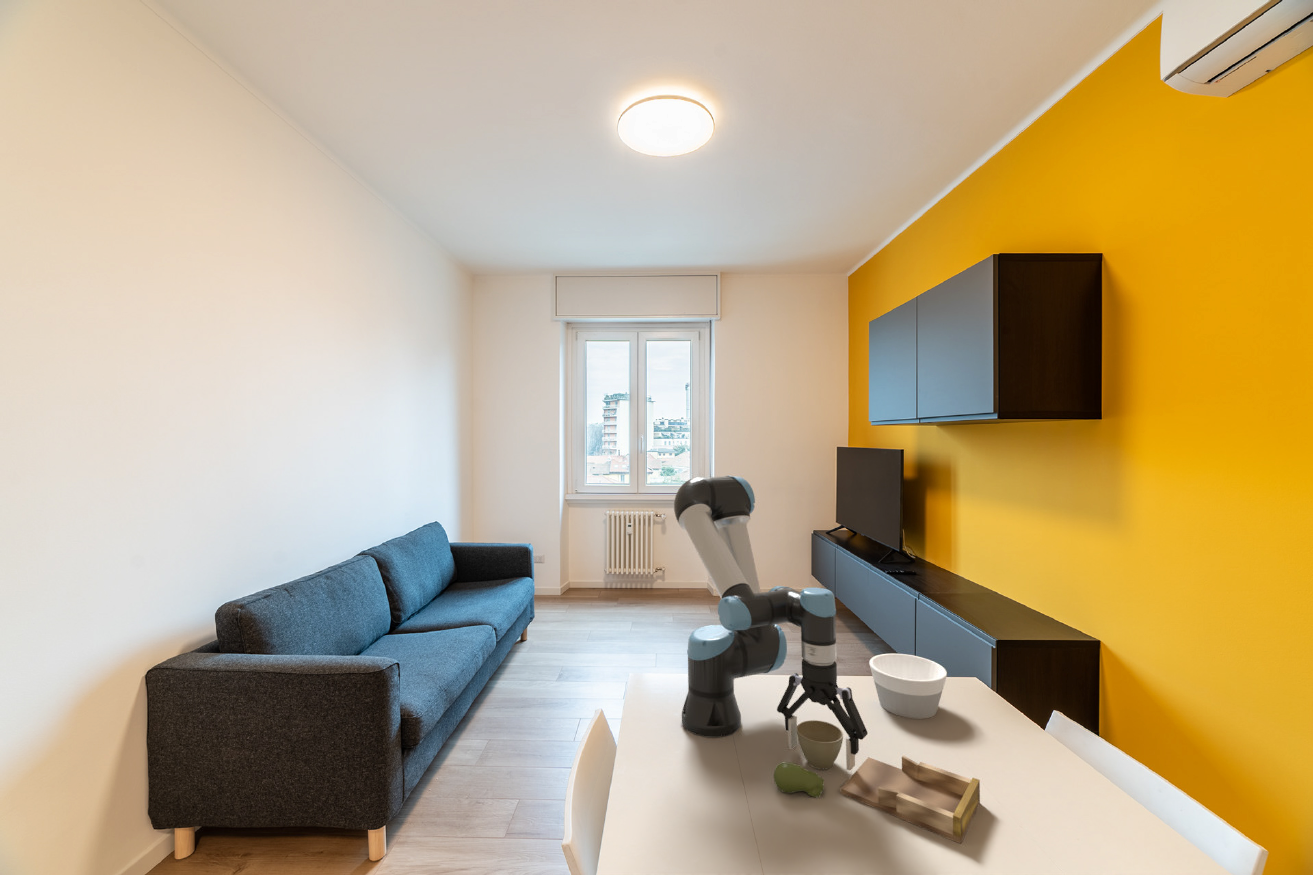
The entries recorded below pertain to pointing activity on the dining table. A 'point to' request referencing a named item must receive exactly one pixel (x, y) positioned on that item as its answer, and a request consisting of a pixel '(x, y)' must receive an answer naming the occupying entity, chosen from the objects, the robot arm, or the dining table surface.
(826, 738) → the flower pot
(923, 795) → the slot board
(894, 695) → the bowl
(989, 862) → the dining table surface
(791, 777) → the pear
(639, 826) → the dining table surface
